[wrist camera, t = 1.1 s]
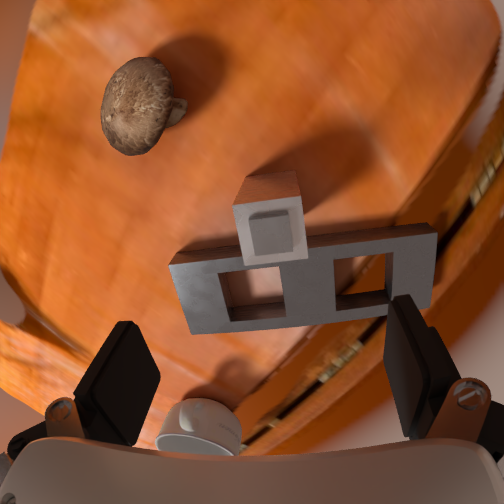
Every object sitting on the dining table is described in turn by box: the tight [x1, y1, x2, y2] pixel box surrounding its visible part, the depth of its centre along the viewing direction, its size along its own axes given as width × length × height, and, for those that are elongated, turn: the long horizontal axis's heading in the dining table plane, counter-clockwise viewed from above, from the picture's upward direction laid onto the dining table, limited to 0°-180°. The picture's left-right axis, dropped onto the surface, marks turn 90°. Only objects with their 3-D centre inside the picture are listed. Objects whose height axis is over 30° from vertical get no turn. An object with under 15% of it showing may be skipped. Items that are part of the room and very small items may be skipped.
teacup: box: [155, 398, 242, 456], centre depth 37 cm, size 14×11×8 cm
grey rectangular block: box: [232, 170, 308, 266], centre depth 24 cm, size 4×4×9 cm
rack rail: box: [168, 222, 438, 335], centre depth 29 cm, size 24×8×2 cm, turn 100°
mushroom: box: [101, 57, 188, 156], centre depth 23 cm, size 8×8×6 cm
